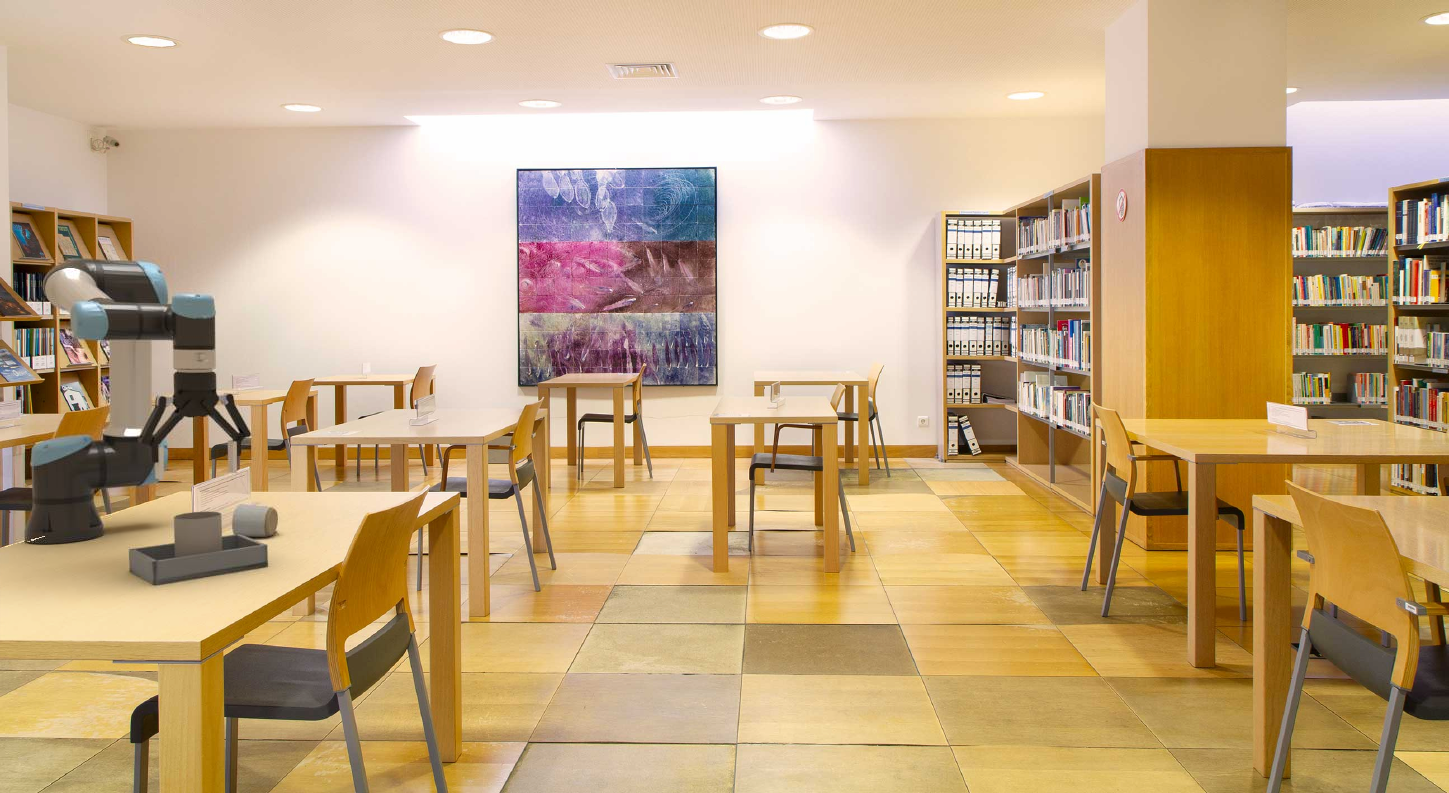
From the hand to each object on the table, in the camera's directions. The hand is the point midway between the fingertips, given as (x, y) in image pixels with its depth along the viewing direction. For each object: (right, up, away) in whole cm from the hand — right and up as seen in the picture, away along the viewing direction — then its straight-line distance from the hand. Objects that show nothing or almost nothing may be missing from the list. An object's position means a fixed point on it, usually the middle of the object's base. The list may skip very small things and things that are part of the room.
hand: (197, 475), depth 192 cm
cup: (0, -18, +1) cm, 18 cm away
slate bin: (0, -19, +1) cm, 19 cm away
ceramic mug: (-4, -17, +33) cm, 38 cm away
